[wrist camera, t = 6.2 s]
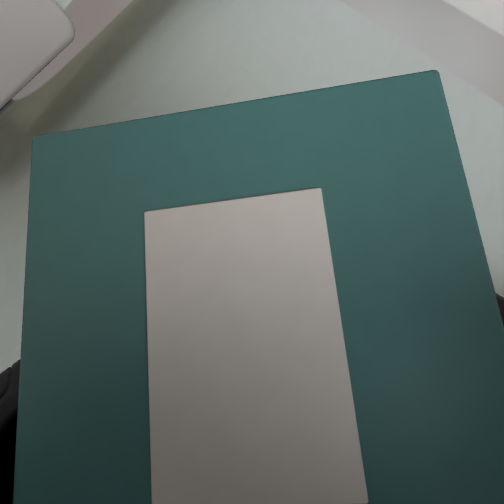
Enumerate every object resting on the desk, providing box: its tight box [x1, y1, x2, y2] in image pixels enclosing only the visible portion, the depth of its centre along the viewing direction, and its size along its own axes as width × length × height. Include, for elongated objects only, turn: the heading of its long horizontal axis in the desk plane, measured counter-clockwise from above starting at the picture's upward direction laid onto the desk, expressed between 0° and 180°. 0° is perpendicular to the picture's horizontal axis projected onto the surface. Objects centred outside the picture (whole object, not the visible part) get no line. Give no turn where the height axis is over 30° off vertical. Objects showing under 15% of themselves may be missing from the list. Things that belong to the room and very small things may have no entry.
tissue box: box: [13, 70, 504, 504], centre depth 9 cm, size 7×6×11 cm
